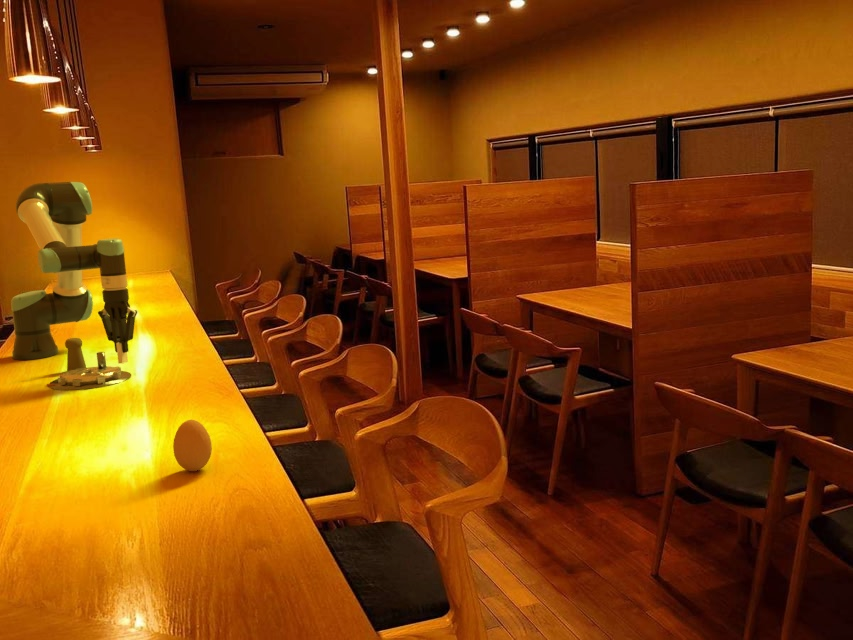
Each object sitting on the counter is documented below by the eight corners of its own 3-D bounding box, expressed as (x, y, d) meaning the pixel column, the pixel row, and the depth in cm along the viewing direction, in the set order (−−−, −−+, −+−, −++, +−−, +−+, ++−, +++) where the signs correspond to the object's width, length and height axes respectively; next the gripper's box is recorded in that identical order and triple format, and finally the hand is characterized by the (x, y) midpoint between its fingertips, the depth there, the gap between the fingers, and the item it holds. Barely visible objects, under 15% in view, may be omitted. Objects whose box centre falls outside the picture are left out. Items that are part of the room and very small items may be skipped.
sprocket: (44, 385, 243) (41, 363, 242) (85, 370, 261) (82, 349, 260) (96, 387, 238) (93, 364, 237) (134, 372, 256) (132, 350, 255)
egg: (198, 478, 160) (193, 426, 158) (167, 475, 163) (162, 424, 161) (221, 465, 167) (216, 416, 165) (191, 462, 170) (186, 413, 168)
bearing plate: (30, 388, 242) (30, 387, 242) (84, 370, 264) (83, 368, 264) (98, 391, 235) (97, 389, 235) (146, 371, 258) (146, 370, 258)
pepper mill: (90, 369, 265) (86, 337, 263) (74, 373, 260) (70, 340, 258) (79, 368, 268) (75, 336, 266) (63, 372, 263) (59, 339, 261)
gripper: (89, 290, 247) (97, 364, 251) (125, 290, 243) (133, 365, 247) (104, 287, 254) (113, 359, 258) (140, 286, 250) (148, 360, 254)
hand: (123, 362), depth 252 cm, fingers closed
